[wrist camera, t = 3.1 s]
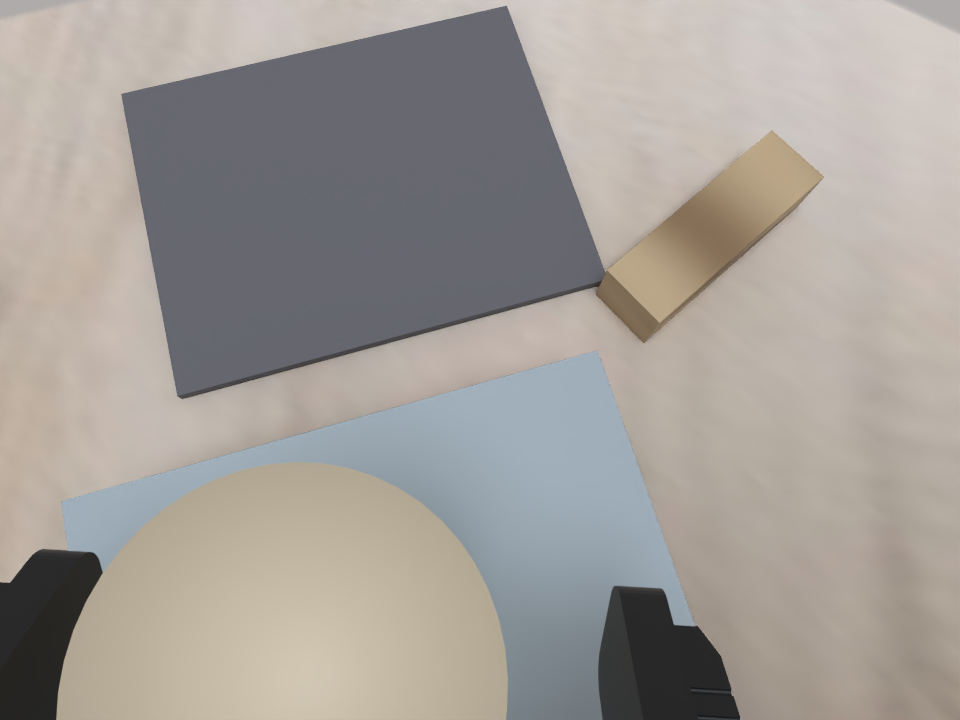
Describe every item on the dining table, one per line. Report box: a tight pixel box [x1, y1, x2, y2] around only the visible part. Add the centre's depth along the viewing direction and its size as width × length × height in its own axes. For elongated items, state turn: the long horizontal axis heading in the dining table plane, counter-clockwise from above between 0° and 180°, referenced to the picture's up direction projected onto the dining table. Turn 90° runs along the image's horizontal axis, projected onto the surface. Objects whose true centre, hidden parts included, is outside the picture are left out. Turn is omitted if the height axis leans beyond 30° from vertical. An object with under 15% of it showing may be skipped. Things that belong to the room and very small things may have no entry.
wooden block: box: [596, 131, 824, 343], centre depth 25 cm, size 8×2×2 cm, turn 131°
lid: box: [56, 350, 695, 720], centre depth 12 cm, size 14×10×11 cm
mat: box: [121, 6, 605, 399], centre depth 26 cm, size 15×12×1 cm
